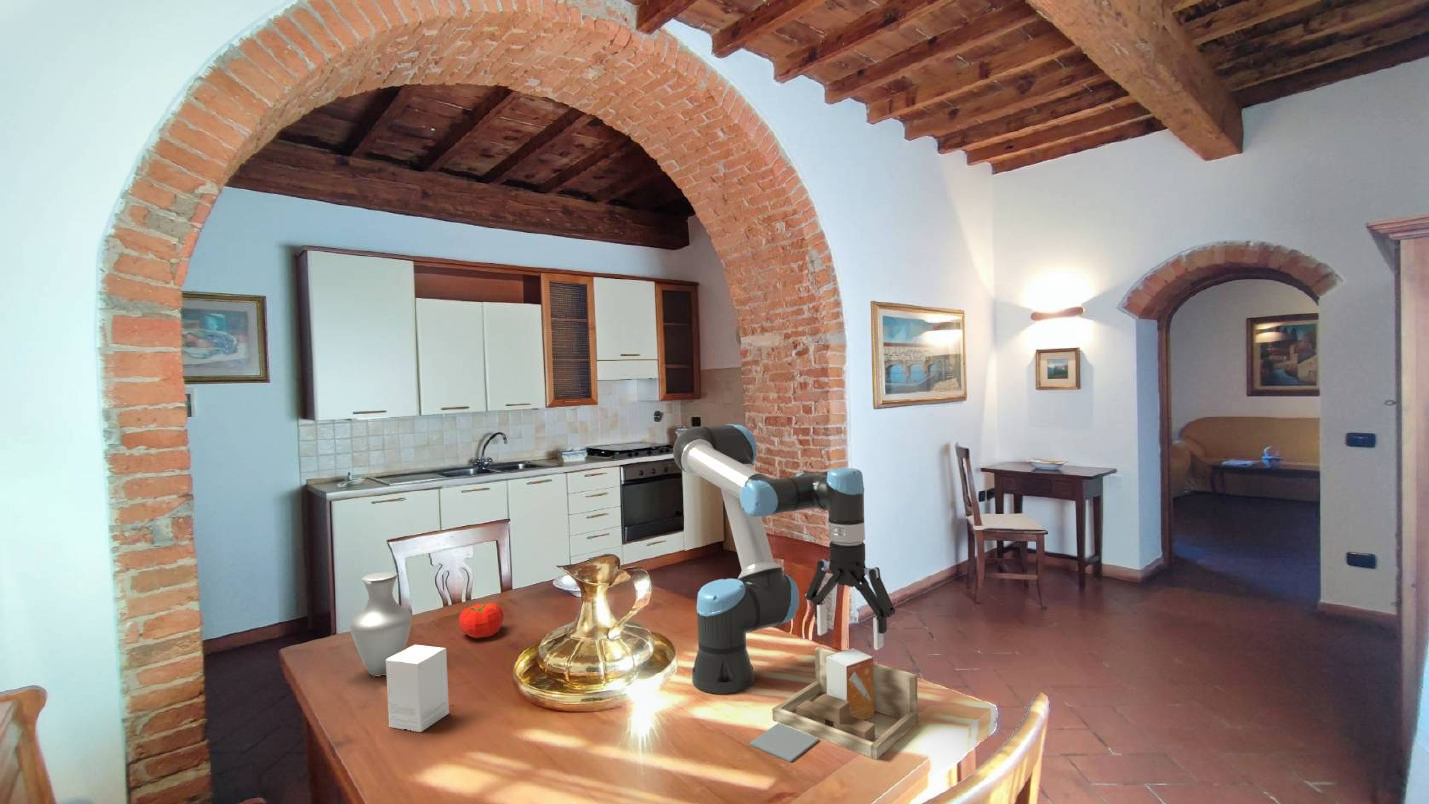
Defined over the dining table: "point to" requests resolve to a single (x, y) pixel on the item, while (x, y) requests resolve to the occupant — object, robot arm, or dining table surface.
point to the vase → (380, 623)
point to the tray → (890, 697)
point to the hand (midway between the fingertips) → (849, 640)
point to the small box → (852, 681)
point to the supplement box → (417, 687)
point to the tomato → (481, 620)
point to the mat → (784, 742)
